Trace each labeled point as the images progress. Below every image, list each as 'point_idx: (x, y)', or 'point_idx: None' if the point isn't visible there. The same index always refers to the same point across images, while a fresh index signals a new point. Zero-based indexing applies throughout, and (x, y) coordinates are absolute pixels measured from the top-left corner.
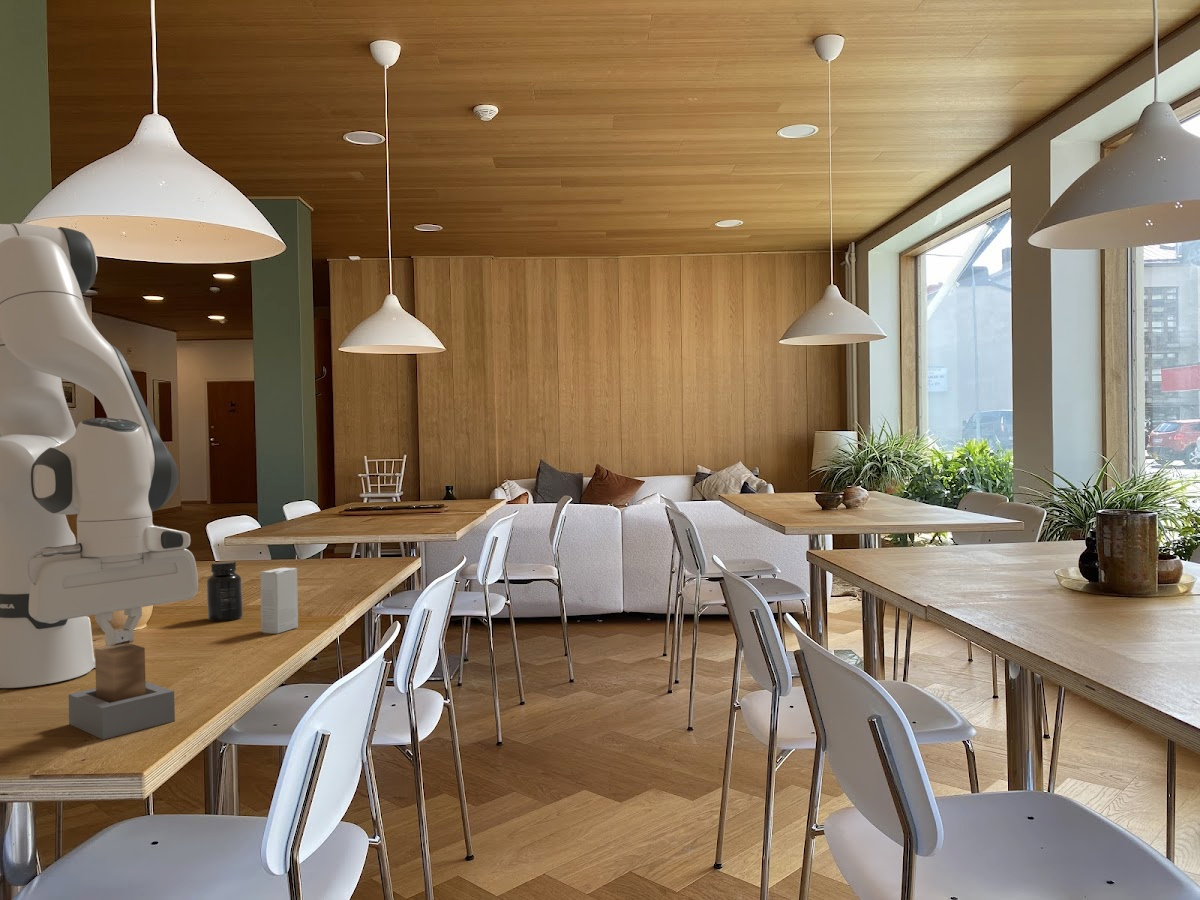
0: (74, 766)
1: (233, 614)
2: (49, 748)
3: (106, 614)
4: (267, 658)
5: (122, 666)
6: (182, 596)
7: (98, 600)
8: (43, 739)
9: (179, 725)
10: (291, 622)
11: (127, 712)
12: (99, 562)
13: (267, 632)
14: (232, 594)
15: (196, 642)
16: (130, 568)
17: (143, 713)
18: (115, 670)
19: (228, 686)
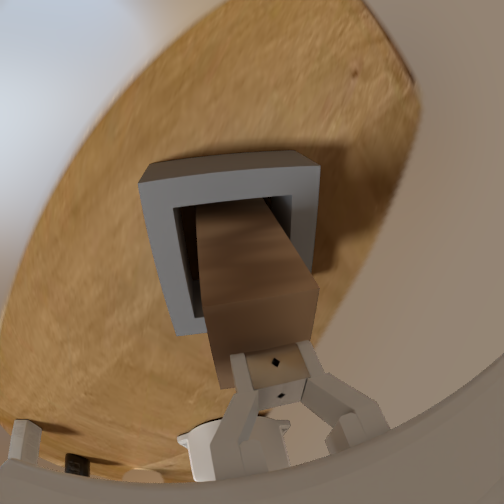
0: (373, 58)
1: (70, 457)
2: (359, 179)
3: (371, 431)
4: (16, 374)
5: (272, 263)
6: (35, 480)
7: (442, 460)
8: (343, 233)
9: (153, 126)
10: (17, 424)
11: (257, 161)
12: None
13: (36, 425)
14: (70, 472)
15: (93, 440)
16: None
17: (218, 162)
18: (291, 255)
19: (42, 308)
